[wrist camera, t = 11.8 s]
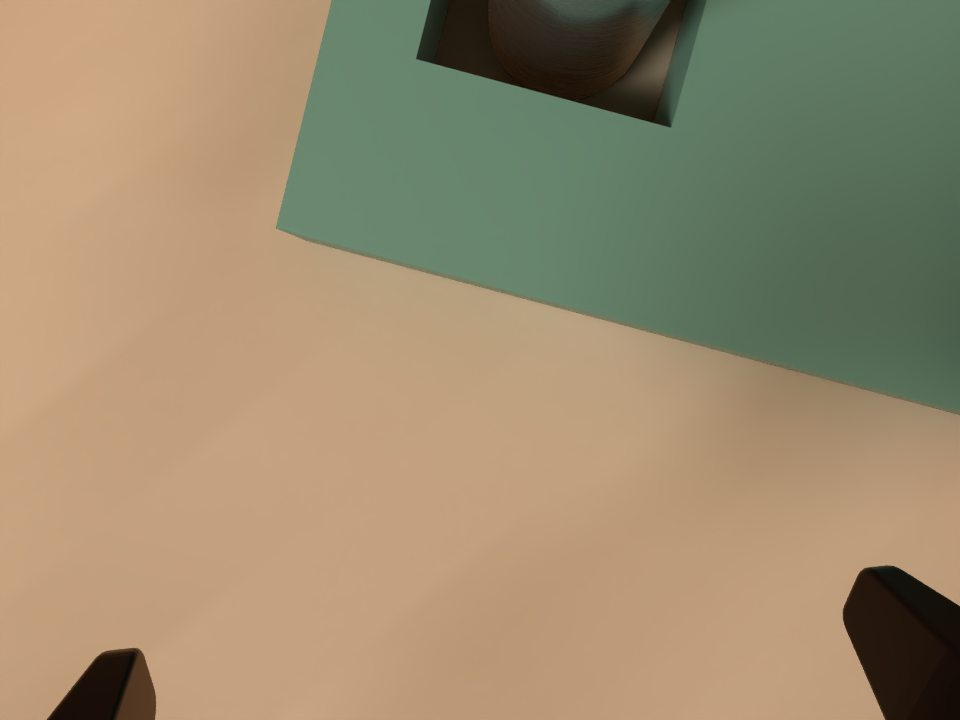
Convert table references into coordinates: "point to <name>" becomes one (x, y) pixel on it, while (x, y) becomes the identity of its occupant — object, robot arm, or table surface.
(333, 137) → the jig
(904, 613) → the robot arm
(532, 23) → the metal peg
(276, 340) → the table surface
